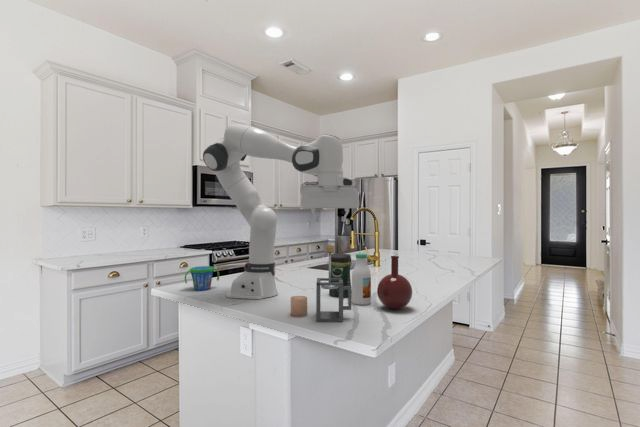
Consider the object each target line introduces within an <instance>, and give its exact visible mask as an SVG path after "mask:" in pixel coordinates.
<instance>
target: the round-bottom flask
mask: <svg viewBox="0 0 640 427" xmlns="http://www.w3.org/2000/svg"><path fill="white" fill-rule="evenodd" d="M399 258H400V256H398V255H390V259H391V271H390V272H391V273H390V274H387V275H385V276H383V277H382V278H381V279H380V280H379V283H378V285H377V288H376V293H377V296H378V300H379V302H380V303H381V304H382V305H383V306H384V307H386V308H388V309H390V310H391V309H392V310H399V309H402V308H405V307H406V306H407V305H408V304H409V303H410V302H411V300H412V297H413V287H412V284H411V283H410V281H409V280H408V278H406V277H405V276H403V275H402V274H399Z"/></svg>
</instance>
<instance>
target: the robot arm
mask: <svg viewBox="0 0 640 427" xmlns="http://www.w3.org/2000/svg"><path fill="white" fill-rule="evenodd" d="M247 156H249V157H251V158H252V157H253V158H259V159H268V160H269V159H271V160H280V161H283V162H284V161H285V162H288V163H292V166H293V168H294V169H295V170H296V171H298V172H300V173H303V174H307V175H312V176H314V177H317V181H305V182H303V183H301V185H300V188H299V189H300V190H299V191H300V194H301V199H300V200H301V201H300V205H301V206H300V207H301V208H302V209H311V210H310V211H311V213H312V215H313V218H314V222H318V223H319V220H320V219H319V215H318V216H317V215H316V213H315V212H316V209H344V212H345V214H344V216H341V222H347V216H348V214H349V213H350V209H358V208H359V207H360V196H359V191H358V189H357V187H356V184H357V183H356V180H355V179H352V178H349V177H345V176H344V172H343V168H342V167H343V162H344V152H343V144H342V139H341V138H339V137H337V136H336V135H332V134H320V135H319V136H318V137H317V138H316V139H315V140H313V141H311V142H309V143H306V144H305V145H299V146H298V147H295V146H293V145H290V144H288V143H287V142H284V141H282V140H281V139H279V138H277V137H275V136H273V135H272V134H270V133H268V132H267V131H265V130H263V129H261V128H259V127H256V126H251V125H247V124H242V123H232V124H230V125H228V126H227V127H226V129H225V130H224V133H223V137H222V138H221V139H219V140H217V141H216V142H215V143H214V142H213V144H211V145H209V146H207V147H206V149H204V151H203V152H202V158H203V162H204V164H205V165H206V167H207V168H208V169H210V170H211V171H214V173H215V175H216V178H217V180H218V182H219V183H220V186H221V187H222V188H223V190H225V192H226V194H227V195H228V196H229V198H230V200H232V202H233V203H234V204H235V206H236V207H237V209H238V210H239V212H240V214H241V215H242V216H243V218H244V220H246V223H247V224H248V225H249V226H250V234H249V235H250V236H249V243H248V262H245V264H244V266H243V269H244V271H243V272H241V274H239V275H238V276H237V277H236V278H235V279H233V281H232V283H231V285H230V286H231V287H230V290H227V292H225V297H226V298H227V299H228V298H232V299H248V300H261V299H266V298H271V297H275V296H277V295H278V289H277V284H276V279H275V278H276V277H275V276H276V262H275V244H276V243H275V242H276V241H275V240H276V233H277V224H278V223H277V222H278V217H277V214H276V212H275V211H274V210H273V209H272V208H270V207H269V206H267V205H266V204H265V202H264V201H263V199H262V197H261V196H260V194H259V192H258V190H257V189H256V187H255V186H254V184H253V183H252V182H251V180H250V178H248V176H247V175H246V174H245V172H244V171H243V169H242V168H241V166H240V163H241V162H243V161H245V160H246V158H247Z"/></svg>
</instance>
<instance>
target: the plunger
mask: <svg viewBox="0 0 640 427" xmlns="http://www.w3.org/2000/svg"><path fill="white" fill-rule="evenodd" d="M335 247H336V246H335V245H334V244H326V245H325V248H324V249H325V251H324V252H325V253H328V278H329V281H328V282H331V254H336V252H335V249H336V248H335ZM337 288H338V285H320V289H324V290H329V289H337Z"/></svg>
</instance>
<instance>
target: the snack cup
mask: <svg viewBox="0 0 640 427" xmlns="http://www.w3.org/2000/svg"><path fill="white" fill-rule="evenodd" d="M214 271H216V274H217V275H216V276H217V277H216V281H219V279H220V272H219V270H218V269H217V268H215V267H214V266H211V265H204V266H203V265H202V266H194V267H191V268H190V269H189V270H187V271H186V272H185V274H184V282H185V284H187V275H188V274H189V273H190V274H191V279H192V284H193V290H195V291H207V289H208V290H210V289H209V288H212V281H213V274H214Z"/></svg>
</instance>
